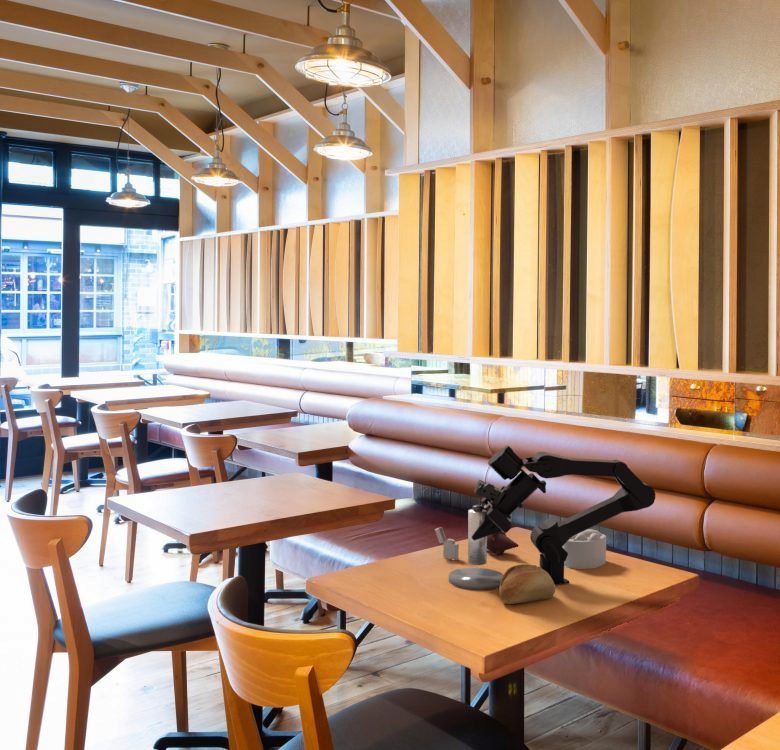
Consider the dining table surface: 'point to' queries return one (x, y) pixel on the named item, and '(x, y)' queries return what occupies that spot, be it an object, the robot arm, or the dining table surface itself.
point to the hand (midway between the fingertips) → (471, 536)
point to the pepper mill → (479, 546)
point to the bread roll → (525, 584)
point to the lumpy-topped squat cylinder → (586, 550)
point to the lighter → (448, 545)
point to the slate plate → (475, 578)
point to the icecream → (499, 543)
